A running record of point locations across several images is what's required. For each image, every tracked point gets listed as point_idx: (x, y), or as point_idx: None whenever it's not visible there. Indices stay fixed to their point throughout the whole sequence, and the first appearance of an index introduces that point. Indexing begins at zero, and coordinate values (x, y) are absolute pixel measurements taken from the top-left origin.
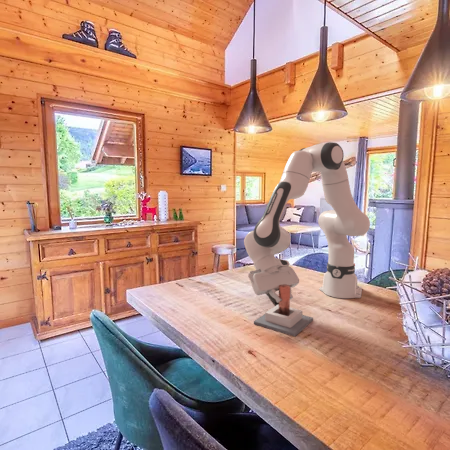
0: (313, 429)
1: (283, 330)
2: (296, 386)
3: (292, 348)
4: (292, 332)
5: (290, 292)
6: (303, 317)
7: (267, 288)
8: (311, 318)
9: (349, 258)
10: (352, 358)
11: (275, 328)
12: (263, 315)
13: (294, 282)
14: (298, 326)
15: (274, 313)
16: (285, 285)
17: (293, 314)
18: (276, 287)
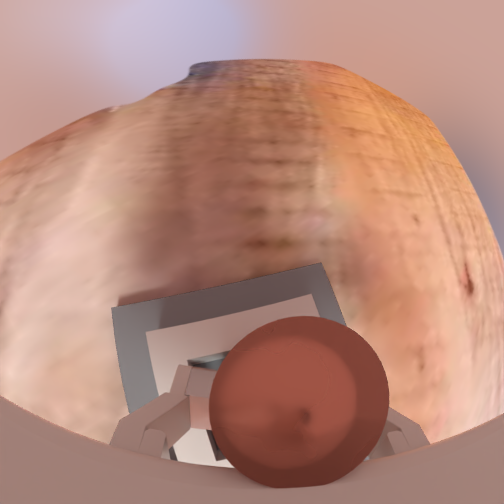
0: (435, 128)
1: (340, 313)
2: (428, 161)
3: (374, 227)
4: (323, 275)
5: (173, 397)
6: (144, 342)
7: (491, 426)
8: (125, 307)
9: None
10: (271, 124)
11: None
12: None
13: (20, 414)
14: (254, 296)
15: None
16: (271, 419)
17: (242, 330)
18: (387, 457)
